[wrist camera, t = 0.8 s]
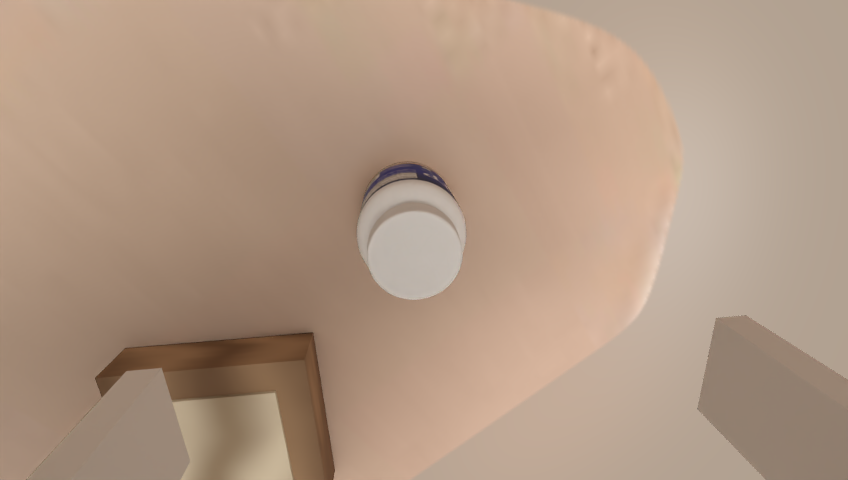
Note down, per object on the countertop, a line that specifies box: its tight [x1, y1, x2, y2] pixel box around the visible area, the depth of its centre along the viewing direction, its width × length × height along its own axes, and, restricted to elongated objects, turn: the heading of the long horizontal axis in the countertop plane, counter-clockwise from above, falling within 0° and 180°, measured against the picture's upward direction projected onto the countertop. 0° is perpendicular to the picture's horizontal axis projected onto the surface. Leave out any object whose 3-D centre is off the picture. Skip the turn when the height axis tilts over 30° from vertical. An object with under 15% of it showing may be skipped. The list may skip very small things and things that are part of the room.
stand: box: [95, 333, 335, 480], centre depth 28 cm, size 12×12×3 cm
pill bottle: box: [357, 162, 466, 300], centre depth 22 cm, size 5×5×9 cm
